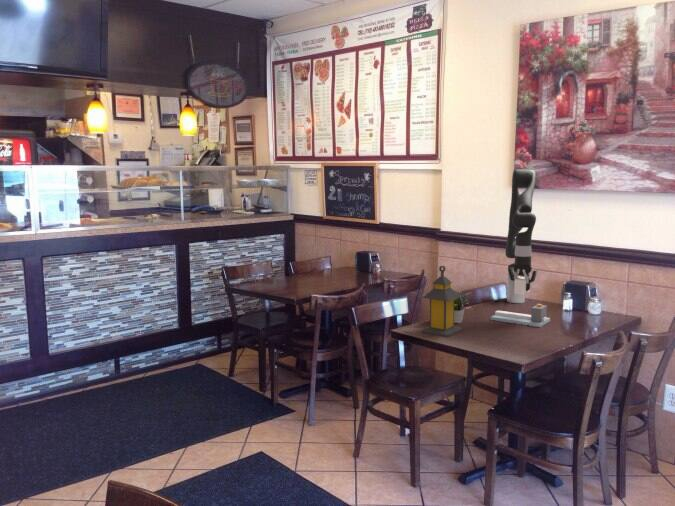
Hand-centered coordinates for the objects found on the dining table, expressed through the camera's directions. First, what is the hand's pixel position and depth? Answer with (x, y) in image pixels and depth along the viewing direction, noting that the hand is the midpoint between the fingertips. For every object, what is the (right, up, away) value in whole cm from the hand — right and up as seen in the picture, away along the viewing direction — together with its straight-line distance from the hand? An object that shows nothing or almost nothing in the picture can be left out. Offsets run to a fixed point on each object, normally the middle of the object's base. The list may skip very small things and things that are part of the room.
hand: (522, 289), depth 287 cm
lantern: (-41, -18, -14) cm, 47 cm away
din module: (0, -1, 0) cm, 1 cm away
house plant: (-31, -16, +1) cm, 34 cm away
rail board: (0, -15, +2) cm, 15 cm away
